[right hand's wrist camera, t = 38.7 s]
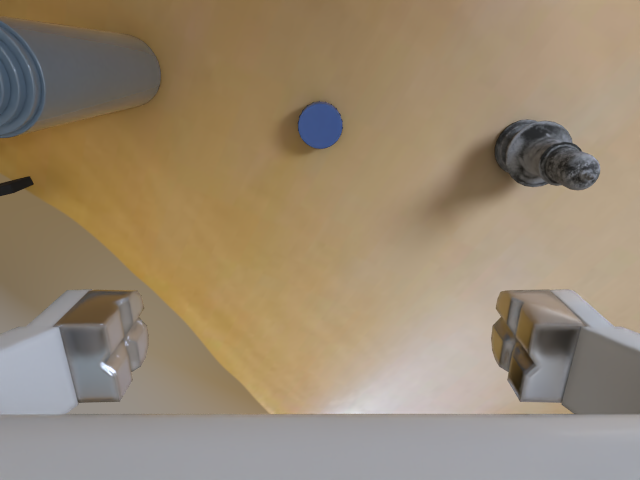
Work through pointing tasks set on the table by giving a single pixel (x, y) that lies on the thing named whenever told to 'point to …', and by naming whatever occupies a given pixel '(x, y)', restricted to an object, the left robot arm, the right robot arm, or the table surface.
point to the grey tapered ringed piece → (544, 156)
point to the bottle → (69, 74)
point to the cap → (320, 125)
